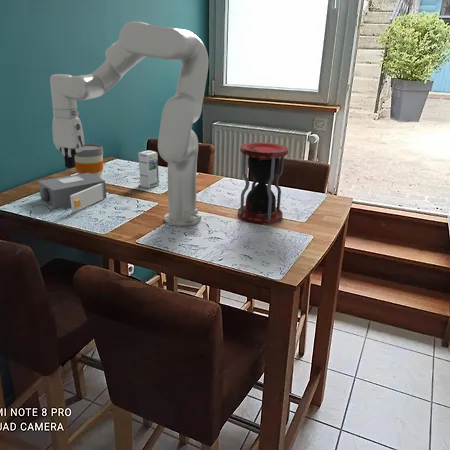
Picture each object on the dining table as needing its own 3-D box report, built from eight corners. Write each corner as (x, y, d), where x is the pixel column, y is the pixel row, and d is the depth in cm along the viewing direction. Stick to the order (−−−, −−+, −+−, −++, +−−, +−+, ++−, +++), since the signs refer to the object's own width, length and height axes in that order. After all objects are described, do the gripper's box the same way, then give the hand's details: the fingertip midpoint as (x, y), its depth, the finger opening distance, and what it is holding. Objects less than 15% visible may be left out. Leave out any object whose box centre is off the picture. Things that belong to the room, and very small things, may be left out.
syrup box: (149, 188, 180) (147, 154, 174) (139, 185, 183) (137, 151, 177) (159, 185, 184) (158, 151, 178) (149, 182, 187) (148, 149, 182)
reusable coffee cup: (109, 178, 192) (107, 144, 186) (99, 186, 180) (96, 151, 174) (82, 176, 193) (79, 143, 187) (70, 184, 181) (66, 149, 175)
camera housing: (106, 198, 167) (105, 180, 164) (52, 209, 154) (49, 190, 151) (90, 189, 177) (88, 172, 174) (37, 199, 163) (35, 181, 161)
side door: (107, 198, 165) (106, 183, 163) (76, 212, 150) (75, 196, 148) (102, 197, 166) (101, 182, 163) (71, 211, 151) (69, 195, 149)
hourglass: (230, 210, 158) (233, 143, 149) (270, 206, 164) (275, 141, 154) (248, 226, 144) (252, 153, 135) (290, 221, 150) (297, 151, 140)
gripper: (91, 114, 144) (94, 168, 151) (56, 110, 149) (61, 161, 156) (75, 117, 137) (80, 173, 144) (39, 112, 142) (45, 166, 149)
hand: (70, 167), depth 150 cm, fingers closed
